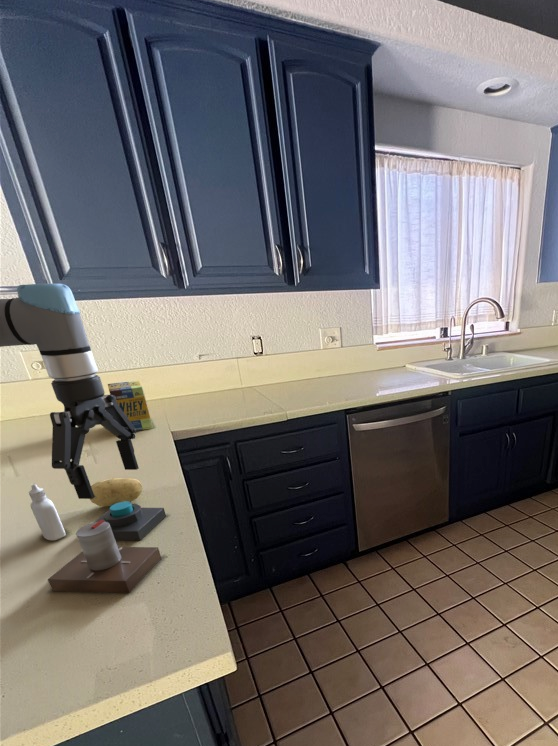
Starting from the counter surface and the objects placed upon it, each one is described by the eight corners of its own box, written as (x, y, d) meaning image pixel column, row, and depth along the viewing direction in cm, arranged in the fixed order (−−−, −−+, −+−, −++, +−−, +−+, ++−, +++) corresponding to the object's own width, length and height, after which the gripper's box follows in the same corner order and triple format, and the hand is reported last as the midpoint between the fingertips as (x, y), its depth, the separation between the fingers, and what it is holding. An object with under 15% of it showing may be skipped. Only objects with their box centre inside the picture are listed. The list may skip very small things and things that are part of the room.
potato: (97, 501, 104) (88, 478, 101) (147, 493, 108) (140, 470, 105) (90, 514, 98) (81, 490, 96) (144, 504, 102) (136, 480, 99)
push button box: (85, 539, 88) (78, 523, 87) (116, 515, 97) (110, 500, 96) (140, 540, 87) (134, 523, 86) (166, 516, 96) (161, 500, 95)
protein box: (121, 433, 153) (108, 391, 147) (119, 423, 165) (107, 383, 159) (153, 428, 158) (142, 386, 152) (149, 418, 170) (138, 379, 164)
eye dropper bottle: (68, 526, 93) (48, 477, 88) (65, 538, 89) (44, 487, 84) (44, 532, 92) (22, 481, 87) (40, 544, 87) (16, 492, 82)
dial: (109, 571, 74) (95, 535, 71) (82, 570, 74) (67, 534, 71) (127, 554, 78) (115, 520, 75) (102, 553, 79) (89, 519, 76)
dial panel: (52, 591, 73) (46, 578, 72) (92, 557, 82) (88, 545, 81) (129, 592, 72) (125, 580, 71) (161, 558, 81) (158, 546, 80)
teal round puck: (107, 517, 89) (105, 510, 88) (119, 508, 93) (117, 501, 92) (125, 517, 89) (123, 510, 88) (137, 508, 92) (135, 501, 92)
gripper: (102, 365, 89) (132, 459, 98) (-7, 393, 67) (44, 512, 75) (136, 364, 88) (162, 459, 97) (37, 392, 66) (83, 512, 75)
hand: (111, 482), depth 86 cm, fingers open, 13 cm apart
